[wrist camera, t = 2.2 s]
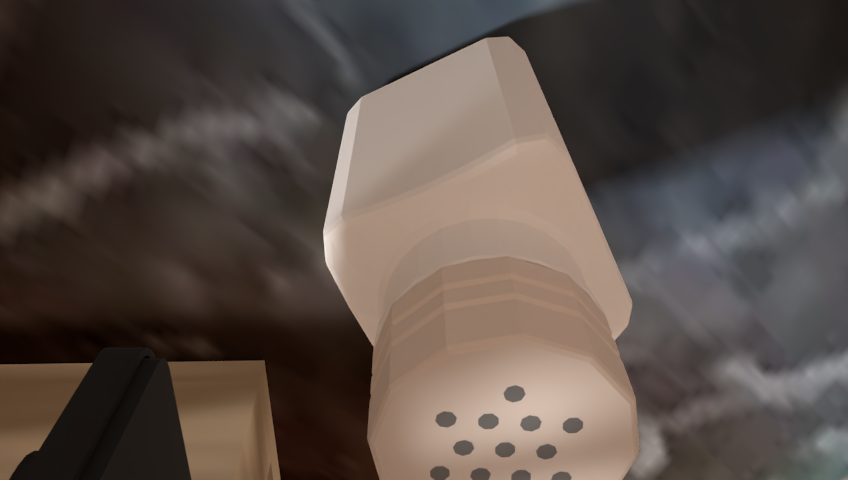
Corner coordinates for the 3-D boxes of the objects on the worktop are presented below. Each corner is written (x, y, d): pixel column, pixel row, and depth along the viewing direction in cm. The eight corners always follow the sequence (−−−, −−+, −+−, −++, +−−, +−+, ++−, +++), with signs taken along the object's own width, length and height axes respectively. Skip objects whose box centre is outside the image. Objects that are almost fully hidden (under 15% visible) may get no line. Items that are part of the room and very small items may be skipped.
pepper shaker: (420, 245, 19) (424, 600, 11) (338, 99, 17) (267, 389, 9) (578, 177, 18) (719, 504, 10) (510, 16, 16) (611, 251, 8)
